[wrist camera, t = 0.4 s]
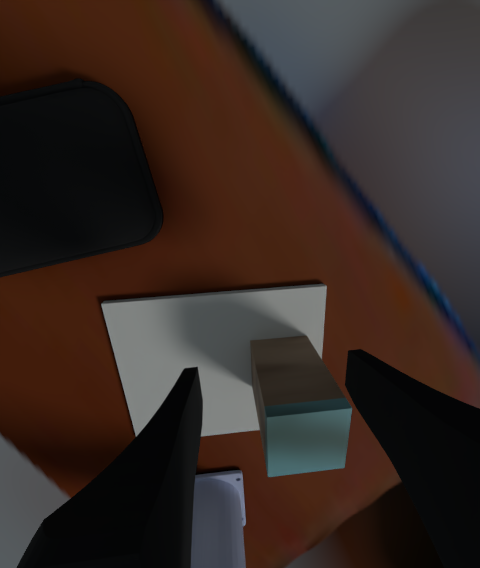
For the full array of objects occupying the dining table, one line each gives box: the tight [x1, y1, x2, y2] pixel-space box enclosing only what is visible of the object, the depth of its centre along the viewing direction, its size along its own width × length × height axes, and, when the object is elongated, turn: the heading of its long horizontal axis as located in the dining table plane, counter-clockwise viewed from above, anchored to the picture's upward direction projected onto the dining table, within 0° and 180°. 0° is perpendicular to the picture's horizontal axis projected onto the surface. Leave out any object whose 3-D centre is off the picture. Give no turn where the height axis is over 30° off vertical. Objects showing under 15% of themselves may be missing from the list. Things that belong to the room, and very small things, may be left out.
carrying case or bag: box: [0, 79, 163, 277], centre depth 16 cm, size 11×3×15 cm
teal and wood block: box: [250, 335, 352, 477], centre depth 19 cm, size 5×5×8 cm
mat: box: [101, 284, 327, 436], centre depth 23 cm, size 15×18×1 cm
